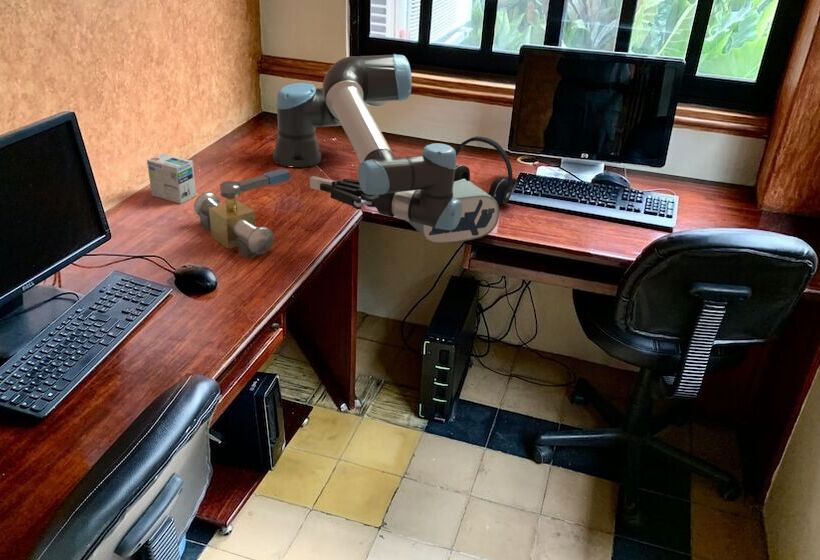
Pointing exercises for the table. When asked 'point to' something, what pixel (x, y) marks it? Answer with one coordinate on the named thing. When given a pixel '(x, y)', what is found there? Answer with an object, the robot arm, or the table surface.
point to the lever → (253, 183)
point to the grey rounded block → (466, 216)
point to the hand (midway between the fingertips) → (311, 181)
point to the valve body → (233, 225)
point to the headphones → (500, 186)
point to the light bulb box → (171, 178)
